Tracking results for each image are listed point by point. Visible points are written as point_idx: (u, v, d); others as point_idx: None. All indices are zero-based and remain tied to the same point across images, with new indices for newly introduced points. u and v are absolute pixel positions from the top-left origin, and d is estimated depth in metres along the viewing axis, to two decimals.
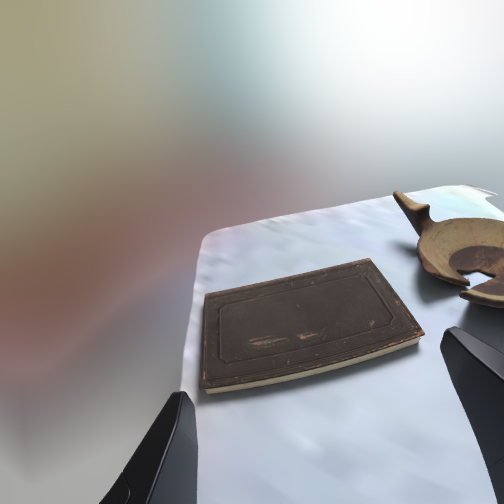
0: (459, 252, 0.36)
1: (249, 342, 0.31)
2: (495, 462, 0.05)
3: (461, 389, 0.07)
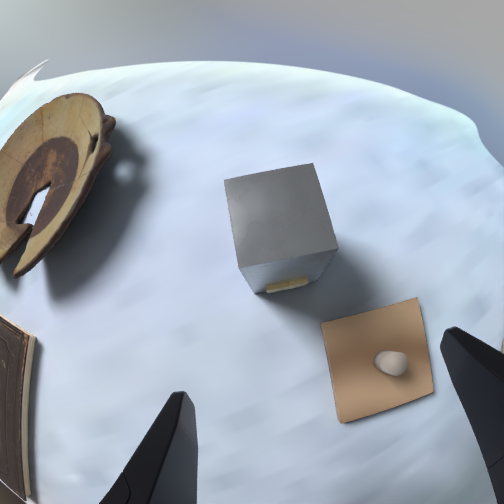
0: (11, 194, 0.28)
1: None
2: (495, 463, 0.05)
3: (461, 389, 0.07)
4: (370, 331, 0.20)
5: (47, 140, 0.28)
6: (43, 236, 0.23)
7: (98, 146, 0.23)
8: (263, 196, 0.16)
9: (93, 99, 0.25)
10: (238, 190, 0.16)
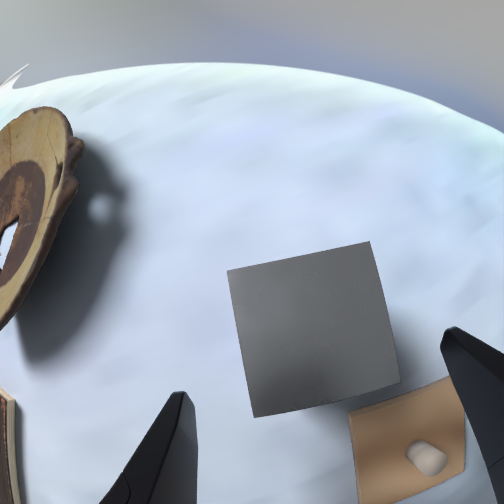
0: None
1: None
2: (495, 463, 0.05)
3: (461, 389, 0.07)
4: (405, 421, 0.14)
5: (15, 164, 0.23)
6: (8, 292, 0.17)
7: (61, 182, 0.17)
8: (292, 302, 0.10)
9: (61, 115, 0.19)
10: (251, 291, 0.10)
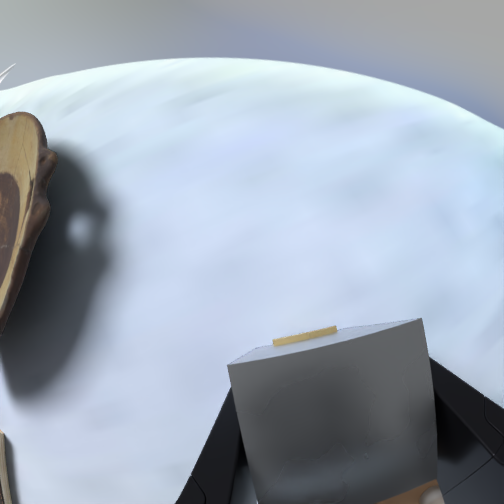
0: None
1: None
2: (448, 490, 0.05)
3: None
4: None
5: None
6: None
7: (30, 204, 0.13)
8: (318, 406, 0.06)
9: (35, 122, 0.16)
10: (262, 393, 0.07)
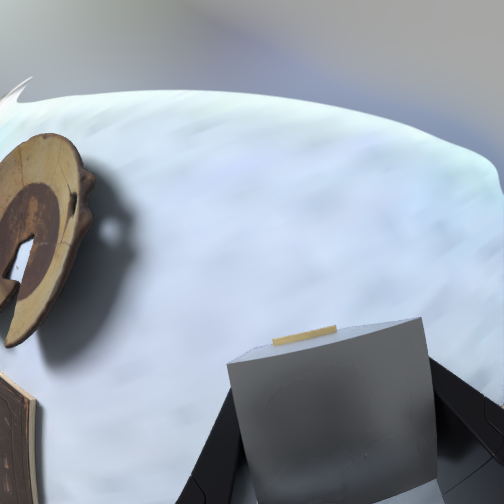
0: None
1: (7, 491, 0.17)
2: (448, 490, 0.05)
3: None
4: None
5: (28, 184, 0.26)
6: (30, 305, 0.21)
7: (77, 213, 0.20)
8: (317, 406, 0.06)
9: (70, 146, 0.23)
10: (261, 392, 0.07)
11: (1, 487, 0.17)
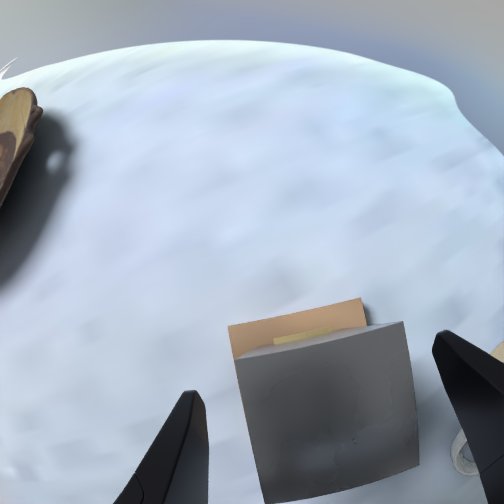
0: None
1: None
2: (486, 468, 0.05)
3: (453, 393, 0.07)
4: None
5: None
6: None
7: (22, 137, 0.19)
8: (311, 396, 0.08)
9: (30, 92, 0.21)
10: (264, 383, 0.08)
11: None
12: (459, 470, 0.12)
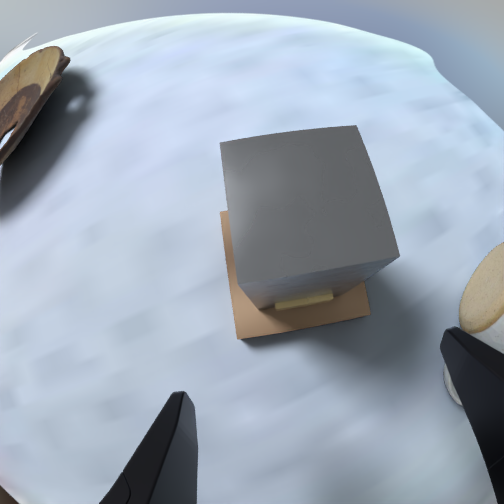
0: None
1: None
2: (495, 463, 0.05)
3: (461, 389, 0.07)
4: None
5: (21, 89, 0.27)
6: None
7: (51, 77, 0.21)
8: (282, 167, 0.10)
9: (58, 48, 0.23)
10: (242, 158, 0.10)
11: None
12: (455, 398, 0.14)
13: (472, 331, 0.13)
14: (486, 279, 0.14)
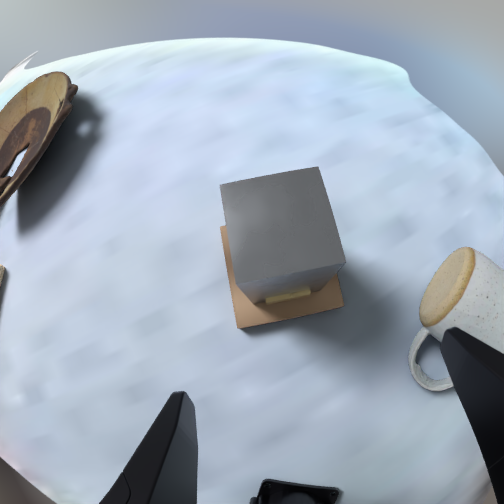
0: None
1: None
2: (495, 462, 0.05)
3: (461, 389, 0.07)
4: None
5: (30, 111, 0.31)
6: None
7: (62, 105, 0.25)
8: (263, 203, 0.14)
9: (64, 74, 0.28)
10: (235, 196, 0.14)
11: None
12: (419, 381, 0.19)
13: (427, 325, 0.18)
14: (441, 280, 0.19)
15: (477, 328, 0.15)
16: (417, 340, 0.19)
